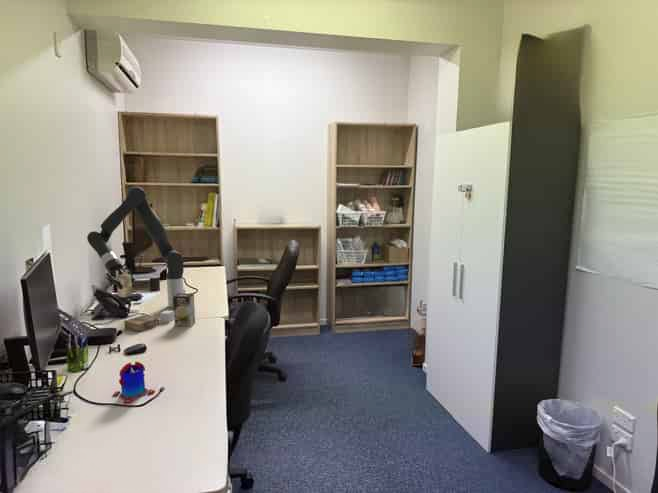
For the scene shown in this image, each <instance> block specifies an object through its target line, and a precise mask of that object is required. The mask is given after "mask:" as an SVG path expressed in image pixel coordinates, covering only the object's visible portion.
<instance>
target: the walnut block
mask: <svg viewBox="0 0 658 493" xmlns="http://www.w3.org/2000/svg"><path fill="white" fill-rule="evenodd" d="M157 322H158V321H157V318H155V317H152V316H147V315H144V314H143V315H139V316H137V317H133V318H130V319H126V320H124V322H123V323H124V330H125V329H126V330H128V331H132V332H135V333H141V332H143V331H147V330H150V329H152V328H155V327H158V323H157Z"/></svg>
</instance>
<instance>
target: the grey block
mask: <svg viewBox="0 0 658 493" xmlns="http://www.w3.org/2000/svg"><path fill="white" fill-rule="evenodd" d="M159 315H160V317H159V318H160V323H171V322H173V321H175V320H174V310H167V309H166V310H163V311H162V312H160V313H159Z"/></svg>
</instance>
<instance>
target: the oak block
mask: <svg viewBox="0 0 658 493" xmlns="http://www.w3.org/2000/svg"><path fill="white" fill-rule="evenodd" d="M117 277H118V280H119V282H120V283H121V285H122V286H123V288H122V289H121V290H120V289H119V288H118V287H116V288H117V296H118V297H119V298H120V297H121V298H127V297H131V296H133V286H132V283H133V281H132V280H131V275H129V274H121V275H117ZM131 281H132V282H131Z"/></svg>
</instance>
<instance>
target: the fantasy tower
mask: <svg viewBox="0 0 658 493" xmlns="http://www.w3.org/2000/svg"><path fill="white" fill-rule="evenodd" d="M145 371H146V367H145V365H144V364H143V363H141V362H139V361H134V364H132V362H128V363H126V364H125V365H124V366H123V367H122V368H121V369H120V370H119V376H120V379H118V383H119V385H120V387H121V391H119V390H118V391H115V392H113V394H112V395H111V397H112V398H118V399H120V400H121V401H123V405H131V404H132V403H134V401H136V400H138V399H141V398H143V397H146V396H151V395H154V394H155V393H156V390H154V389H151V388H150V389H147V388H146V384H145Z"/></svg>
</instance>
